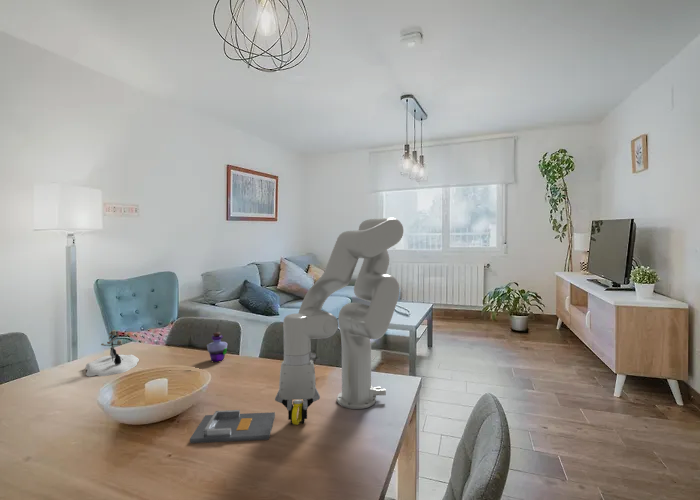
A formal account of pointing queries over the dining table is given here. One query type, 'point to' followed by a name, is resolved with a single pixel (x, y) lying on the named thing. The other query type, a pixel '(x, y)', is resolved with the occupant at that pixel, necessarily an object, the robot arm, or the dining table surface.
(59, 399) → the dining table surface
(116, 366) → the figurine
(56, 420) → the dining table surface
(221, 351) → the potion bottle
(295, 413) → the watch
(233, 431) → the gray fixture board
